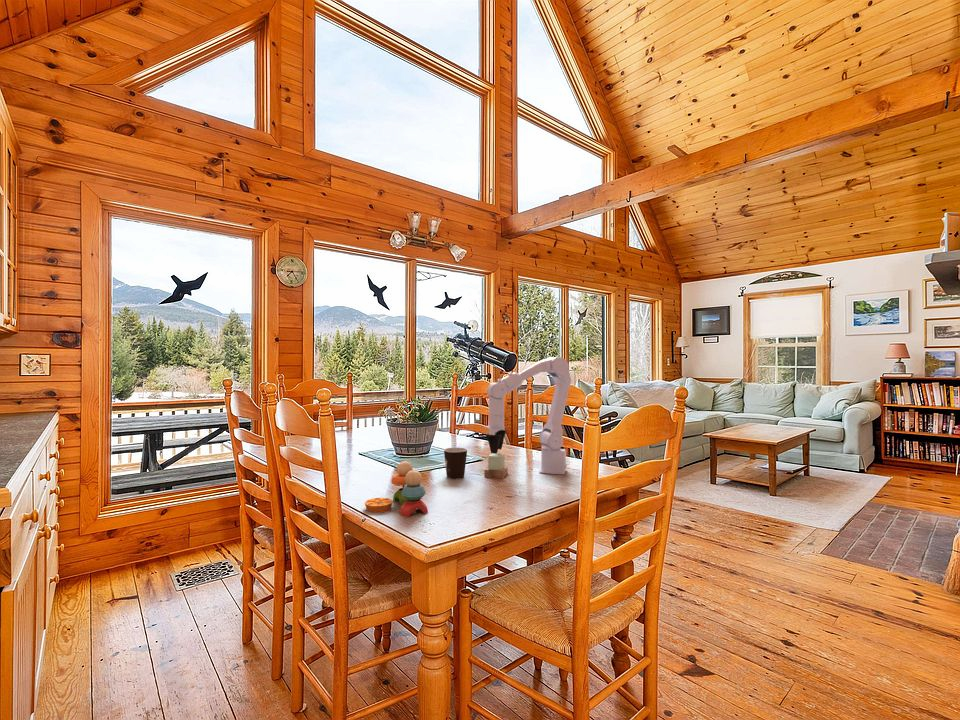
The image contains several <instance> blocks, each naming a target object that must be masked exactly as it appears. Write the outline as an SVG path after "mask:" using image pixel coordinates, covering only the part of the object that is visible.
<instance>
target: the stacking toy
mask: <svg viewBox="0 0 960 720" xmlns="http://www.w3.org/2000/svg"><path fill="white" fill-rule="evenodd" d="M396 472H397V473H395V474H393V475H392V478H391V484H392V485H396V486H402V487H401V488H399V489H398V490H396V491H395V493H394V494H393V496H392V499H391V498H389V497H388V498H387V497H374V498H370V499H367V500H365V502H364V506H365V508H366V511H368V512H370V513H385V512H388V511H390V510H391V508H392V506H393V502H396V501H399V505H400V506H401V507H400V511H399V515H400V516H401V517H404V518H410V517H411V515H412V514H417V510H419V511H420V512H422V513H423V514H425V515H426V514H428V513H429V510H428V506H427V504H426V503H425V502H424V501H423V500H421V499H423V497H424V496H425V495H426V493H427V492H426V489H425V487H424V485H423V484H422V480H423V477H422V474H421V472H419V470H415V469H413V465H412V463H410V462H409V461H406V460H405V461H401V462H400V463H399V464H398V465H397V467H396Z"/></svg>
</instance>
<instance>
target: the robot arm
mask: <svg viewBox="0 0 960 720" xmlns="http://www.w3.org/2000/svg"><path fill="white" fill-rule="evenodd" d="M569 368H570V364H569V363H568V361H567V360H566V359H565V358H564V357H561V356H557V357H554V356H547V357H546V358H543V359H541V360H539V361H537V362H535V363H534V364H532V365H530V366H529V367H527V368H526V369H523V370H522V371H521V372H519V373H518V372H515V371H514V372H508V374H507V375H506V376H504V377H502V378H498V379H497V382H494V381H493V382H491V383H490V384H489V385H488V386H487V389H486V394H487V395H488V425H486V426H485V429H488V430H489V431H488V432H489V433H486V434H485V438H486V439H487V442H488V445H489V450H490V454H491V453H494V454H498V450H502V448H503V445H504V439H505V437H506V434H507V432H508V431H507V429H506V427H505V397H506V396H507V394H509V393H510V392H512V391H514V390H516V389H518V388H519V387H521V386H522V385H523V383H524V381H525V380H528V379H531V378H532V377H534V376H536V375H538V374H540V373H548V374H549V375H550V376H551V377H552V378H553V380H554V381H555V387H554V392H553V396H552V400H551V404H550V408H549V409H550V410H549V414H548V418H547V421H546V422H545V424H544V425H543V428H542V430H541V432H539V434H538V435H539V436H538V440H539V442H540V444H541V447H540V448H541V453H540V454H541V461H540V462H541V465H540V467H541V468H540V469H539V471H538V473H540V474H553V475H555V474H556V475H565V473H566V470H567V450H566V449H565V448H561V447H562V446H563V444H564V438H563V437H564V436H563V433H564V430H563V428H562V423H563V418H564V413H565V409H566V405H567V401H568V395H569V391H570V388H571V383H572V378H571V377H572V376H571V374H570V369H569Z"/></svg>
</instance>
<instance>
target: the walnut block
mask: <svg viewBox="0 0 960 720" xmlns="http://www.w3.org/2000/svg"><path fill="white" fill-rule="evenodd" d="M508 471H509V468H508V466H504V468H503V469H502V470H489V469H488V467H485V469H484V478H494V479H504V478H505V477H506V476H507V475H508Z"/></svg>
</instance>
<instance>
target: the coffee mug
mask: <svg viewBox="0 0 960 720" xmlns="http://www.w3.org/2000/svg"><path fill="white" fill-rule="evenodd" d="M443 455H444V464H445V472H446V478H447V479H451V480H462V479H464V478H465V471H466V465H467V456H468V449H467V448H465V447H455V446H454V447H447V448H444V449H443Z"/></svg>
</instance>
